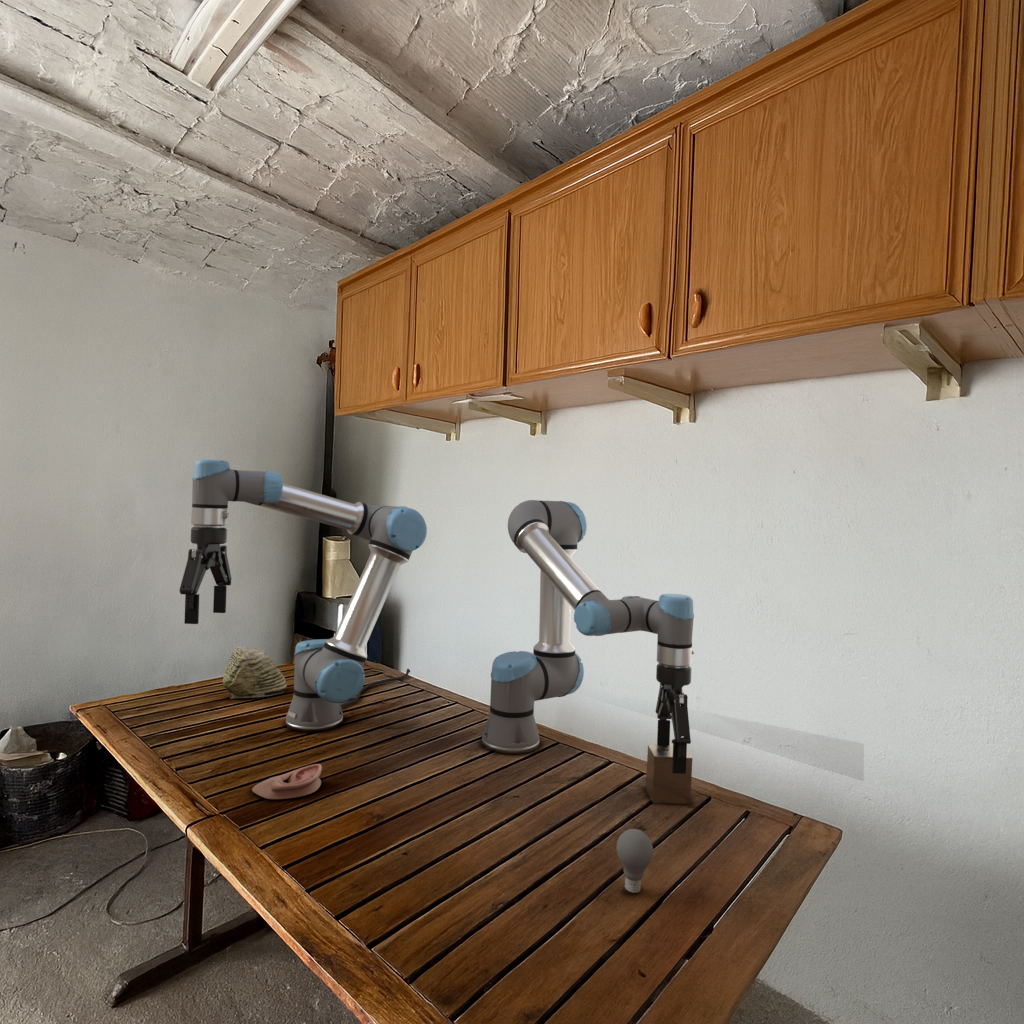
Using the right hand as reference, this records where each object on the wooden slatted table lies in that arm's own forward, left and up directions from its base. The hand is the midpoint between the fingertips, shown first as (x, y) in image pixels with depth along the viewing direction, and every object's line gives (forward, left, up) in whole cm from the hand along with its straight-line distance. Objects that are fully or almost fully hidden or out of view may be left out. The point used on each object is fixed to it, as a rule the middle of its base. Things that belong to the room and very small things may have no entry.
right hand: (670, 760), depth 140 cm
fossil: (+6, -129, -8) cm, 129 cm away
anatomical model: (+44, -71, -8) cm, 84 cm away
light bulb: (+38, +4, -8) cm, 39 cm away
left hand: (+47, -97, +26) cm, 111 cm away
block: (0, 0, -8) cm, 8 cm away
